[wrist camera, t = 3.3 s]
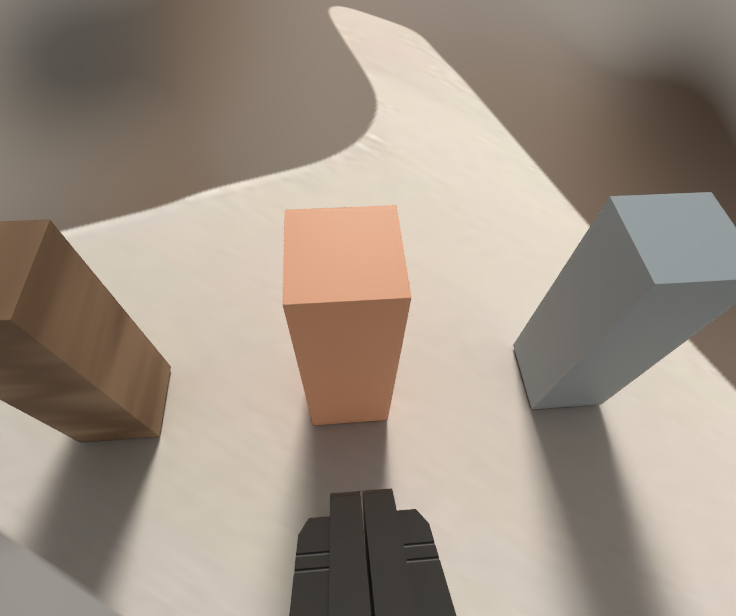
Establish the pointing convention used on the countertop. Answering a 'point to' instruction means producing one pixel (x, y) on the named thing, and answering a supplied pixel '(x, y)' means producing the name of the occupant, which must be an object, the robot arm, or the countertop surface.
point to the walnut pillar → (72, 343)
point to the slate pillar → (628, 297)
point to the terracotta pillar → (346, 308)
